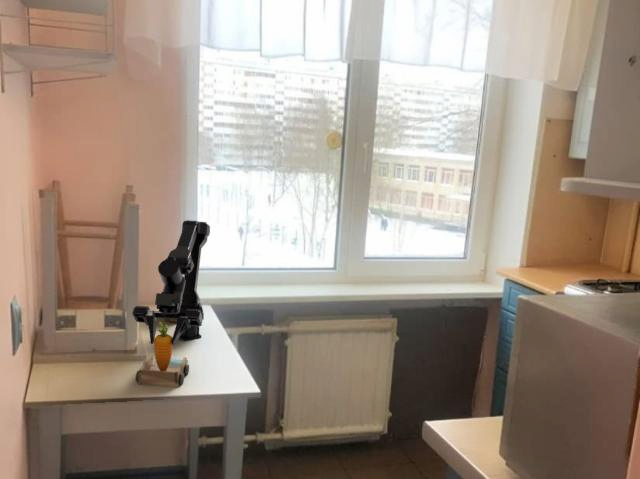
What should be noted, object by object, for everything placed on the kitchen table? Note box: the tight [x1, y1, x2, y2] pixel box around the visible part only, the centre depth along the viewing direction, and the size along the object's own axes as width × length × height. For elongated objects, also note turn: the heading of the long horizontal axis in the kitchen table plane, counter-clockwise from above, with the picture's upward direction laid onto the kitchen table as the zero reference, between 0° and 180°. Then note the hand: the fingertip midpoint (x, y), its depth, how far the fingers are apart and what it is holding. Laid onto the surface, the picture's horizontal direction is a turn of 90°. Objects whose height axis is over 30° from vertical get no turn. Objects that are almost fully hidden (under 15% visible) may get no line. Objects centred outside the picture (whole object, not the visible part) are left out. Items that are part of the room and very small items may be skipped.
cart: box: [135, 354, 190, 388], centre depth 169 cm, size 17×13×4 cm
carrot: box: [153, 321, 173, 371], centre depth 165 cm, size 5×5×15 cm
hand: (162, 344), depth 163 cm, fingers open, 5 cm apart
